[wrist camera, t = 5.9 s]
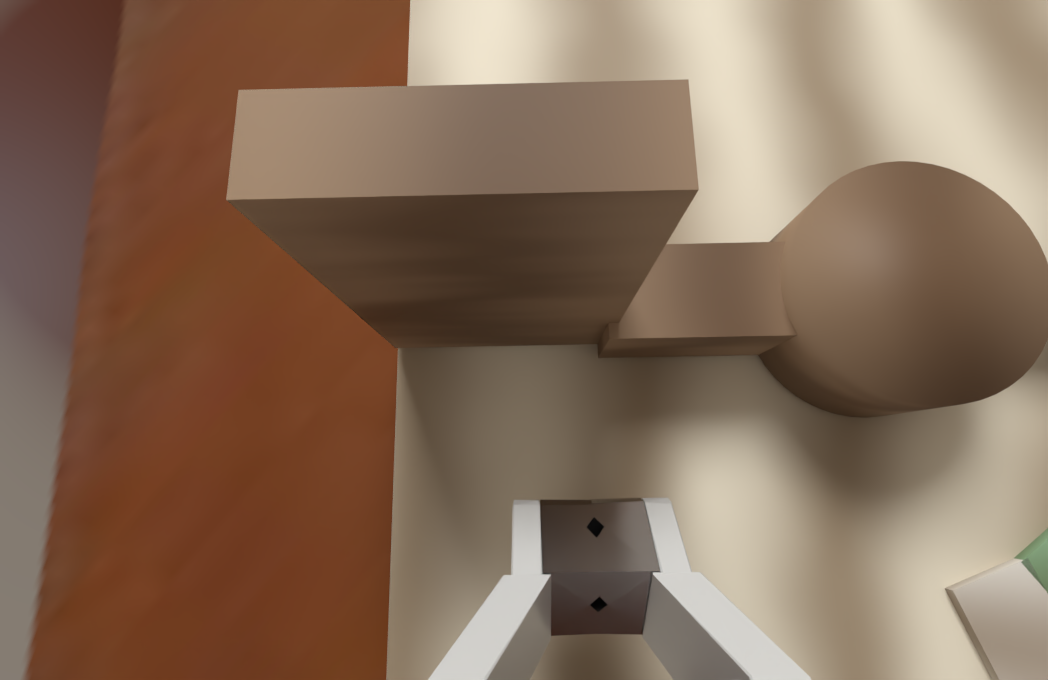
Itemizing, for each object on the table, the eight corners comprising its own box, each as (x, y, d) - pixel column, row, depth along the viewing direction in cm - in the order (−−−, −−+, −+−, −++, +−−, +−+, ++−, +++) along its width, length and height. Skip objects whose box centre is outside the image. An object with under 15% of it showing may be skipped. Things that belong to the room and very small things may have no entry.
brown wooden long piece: (392, 425, 15) (207, 370, 7) (399, 224, 17) (253, -46, 8) (1198, 411, 15) (2117, 334, 6) (1140, 209, 16) (1834, -87, 8)
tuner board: (390, 819, 14) (376, 853, 13) (417, -16, 20) (410, -48, 19) (1411, 808, 14) (1498, 842, 13) (1140, -35, 20) (1181, -68, 19)
